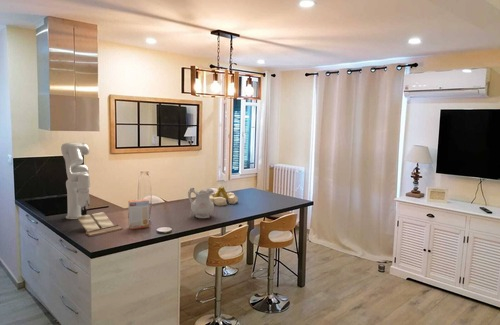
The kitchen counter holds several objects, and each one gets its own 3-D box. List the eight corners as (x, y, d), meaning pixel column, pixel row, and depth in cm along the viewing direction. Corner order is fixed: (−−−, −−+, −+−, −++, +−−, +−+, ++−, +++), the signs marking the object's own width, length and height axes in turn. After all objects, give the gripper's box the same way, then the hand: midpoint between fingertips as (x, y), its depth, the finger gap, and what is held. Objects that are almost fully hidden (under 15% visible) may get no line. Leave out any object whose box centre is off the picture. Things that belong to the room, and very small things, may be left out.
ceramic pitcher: (191, 221, 299) (192, 192, 294) (185, 213, 316) (186, 185, 312) (216, 219, 308) (218, 191, 304) (208, 212, 326) (210, 185, 321)
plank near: (77, 217, 267) (77, 216, 267) (89, 215, 274) (89, 214, 273) (87, 233, 258) (88, 231, 257) (100, 230, 264) (100, 229, 264)
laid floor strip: (85, 234, 255) (85, 231, 255) (117, 227, 274) (117, 224, 274) (90, 236, 251) (90, 234, 251) (122, 229, 269) (122, 226, 269)
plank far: (91, 215, 275) (92, 213, 275) (103, 213, 282) (103, 211, 282) (102, 230, 266) (103, 228, 266) (114, 227, 273) (114, 226, 272)
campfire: (216, 207, 344) (216, 190, 342) (195, 200, 369) (196, 184, 367) (244, 203, 368) (244, 186, 366) (223, 196, 393) (223, 181, 390)
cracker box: (147, 225, 281) (147, 198, 279) (149, 227, 276) (149, 200, 273) (128, 227, 274) (128, 200, 272) (130, 229, 269) (130, 201, 266)
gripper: (73, 189, 269) (74, 214, 271) (83, 192, 260) (83, 218, 262) (83, 188, 275) (84, 212, 277) (93, 191, 265) (93, 216, 267)
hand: (84, 215), depth 269 cm, fingers closed
